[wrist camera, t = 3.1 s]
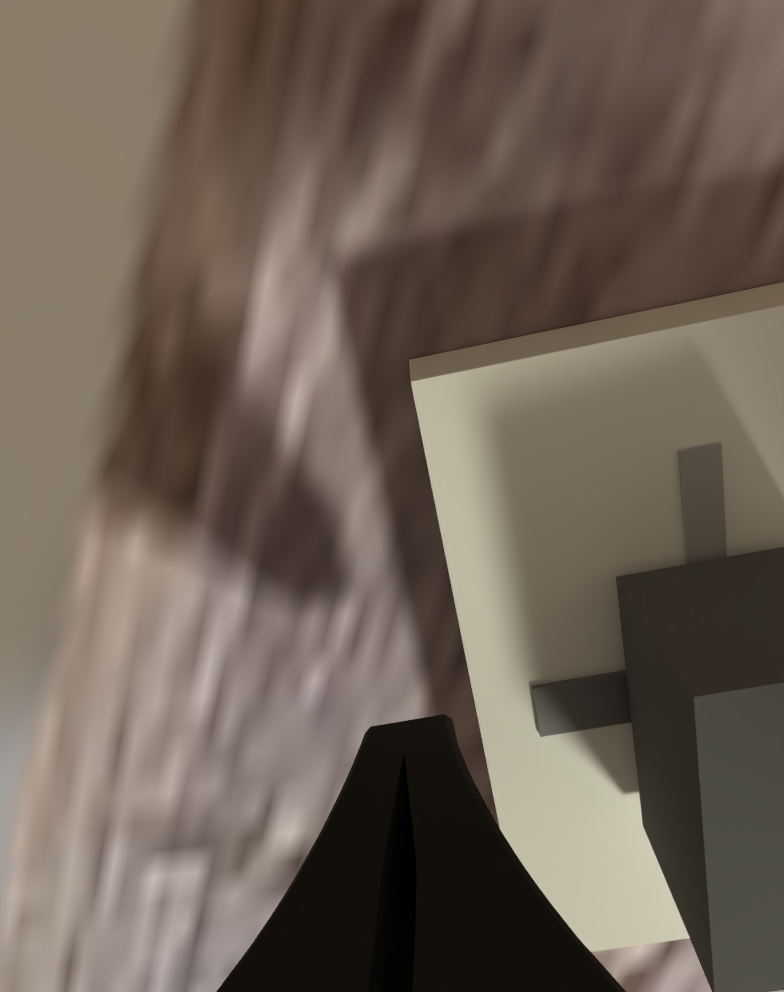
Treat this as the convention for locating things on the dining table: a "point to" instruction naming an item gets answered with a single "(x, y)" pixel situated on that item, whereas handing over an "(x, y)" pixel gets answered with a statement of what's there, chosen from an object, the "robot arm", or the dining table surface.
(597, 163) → the dining table surface
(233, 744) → the dining table surface
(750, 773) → the fader knob
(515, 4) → the dining table surface
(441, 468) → the fader console
